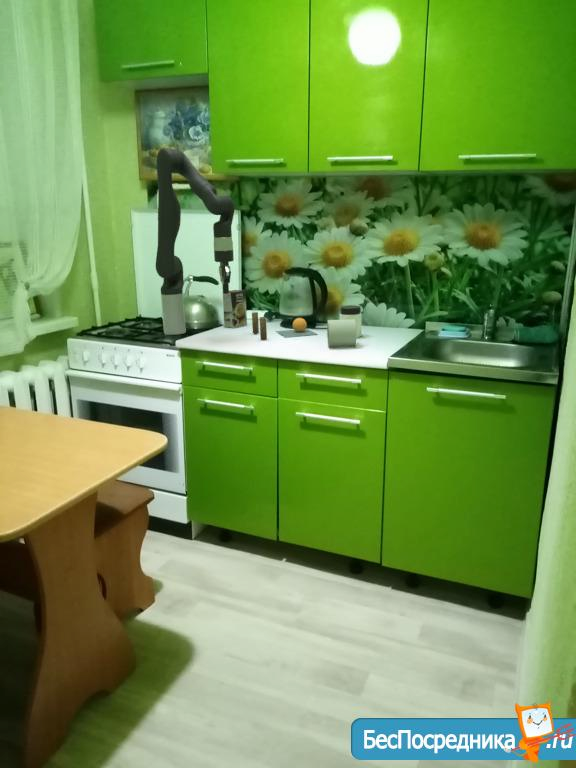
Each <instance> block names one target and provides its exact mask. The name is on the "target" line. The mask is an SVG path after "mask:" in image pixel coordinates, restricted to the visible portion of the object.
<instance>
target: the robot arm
mask: <svg viewBox="0 0 576 768" xmlns="http://www.w3.org/2000/svg"><path fill="white" fill-rule="evenodd" d="M156 174H157V177H156V178H157V188H158V189H157V191H158V192H157V193H158V195H157V196H158V200H157V202H158V204H157V247H156V250H157V251H156V257H155V271H156V273H157V275H158V276H159V277H160V278H162V279H163V282H162V285H161V287H160V298H161V307H162V310H161V315H162V324H163V325H162V326H163V327H162V328H163V333H164V335H165V336H168V335H169V336H172V335H173V336H174V335H182V334H185V333H186V332H187V330H186V329H187V328H186V317H185V315H186V314H185V305H184V292H183V291H184V290H183V289H184V285H185V284H184V283H185V281H184V280H185V279H184V266H183V262H182V260H181V258H179V256H177V255H175V245H176V240H177V237H178V234H179V231H180V226H181V219H182V218H181V217H182V215H181V214H182V209H181V205H180V201H179V199H178V198H177V195H176V193H175V190H174V186H173V177H172V174H176V175H177V174H178V175H180V176H181V177H183V178H184V179H186V180H187V181H188V185H189V188H190V190H191V191H192V192H193V194H195V195H196V196H197V197H198V198H199V199H200V200H201V201H202V203H203V204H204V206H205V208H206V211H208V212H209V213H210V214H212V215H214V216H219V220H218V221H216V222H213V227H212V229H213V255H214V259H213V260H214V262H216V263H219V266H218V273H219V279H220V282H221V285H222V294H223V293H224V294H228V293H229V291H230V289H229V288H230V287H229V285H230V283H231V274H232V272H231V266H230V265H229V262H234V260H235V259H234V243H233V235H232V233H233V231H232V224H233V221H234V214H235V203H234V200H233V198H232V197H231V196H228V195H218V191H217V189H216V187H215V186H214V185H212V183H210V181H208V180H207V179H206V178H205V177H204V176H203V175H202V174H201V173H200V172H199V171H198V170H197V168H196V167H195V166H194V165H193V164H192V162H191V160H190V159H189V158H188V157H187V155H186V154H185V153H184V152H183V151H181V150H179V149H177V148H168V147H167V148H166V147H162V148H160V149H159V150H158V152H157V155H156Z"/></svg>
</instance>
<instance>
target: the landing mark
mask: <svg viewBox="0 0 576 768" xmlns="http://www.w3.org/2000/svg"><path fill="white" fill-rule="evenodd" d="M275 332H276V333H277V332H278V333H277V334H278V335H280V334H281V335H280V336H282V337H283V336H284V337H283V338H286V337H287V338H294V337H297V338H298V337H307V336H317V335H318V333H316V332H314V331H312V330H310V329H308V328H306V329H305V330H304V331H303V332H297V331H295V330H294V329H287V330H286V329H285V330H275Z"/></svg>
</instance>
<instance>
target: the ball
mask: <svg viewBox="0 0 576 768" xmlns="http://www.w3.org/2000/svg"><path fill="white" fill-rule="evenodd" d="M307 327H308V324H307V321H306V319H304V318H302V317H297V318H295V319H294V320H293V322H292V330H295V331H297V332H303V331H304V330H305V329H307Z"/></svg>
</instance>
